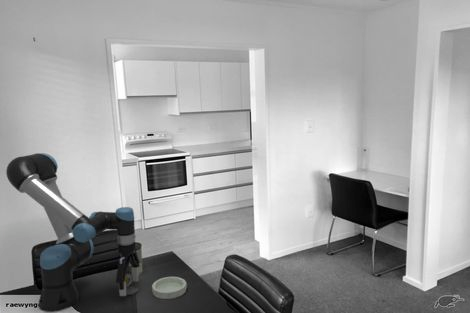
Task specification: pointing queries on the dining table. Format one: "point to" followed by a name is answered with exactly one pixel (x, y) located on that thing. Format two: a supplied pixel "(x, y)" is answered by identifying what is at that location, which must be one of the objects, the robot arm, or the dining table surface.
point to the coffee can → (139, 254)
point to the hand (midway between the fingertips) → (129, 288)
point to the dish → (169, 287)
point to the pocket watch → (130, 289)
